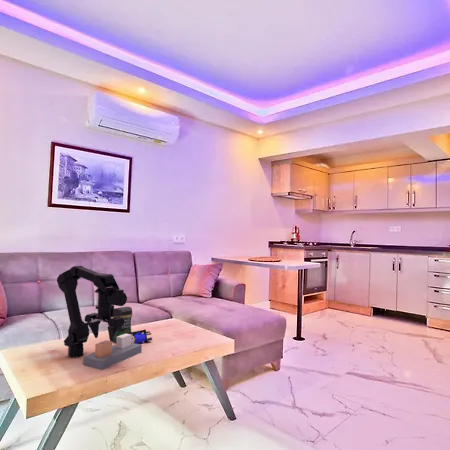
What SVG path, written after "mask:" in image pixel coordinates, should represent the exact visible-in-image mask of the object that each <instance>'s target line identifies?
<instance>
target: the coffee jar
mask: <svg viewBox="0 0 450 450" xmlns="http://www.w3.org/2000/svg"><path fill="white" fill-rule="evenodd" d="M114 309H118V310H122V313H121V316H120V317H121V318H124V319H125V321H124V325H122V326H120V327H119V328H118V329H117V331H116V334H115V336H114V339H113V341H112V344H113V343H114V345H116V337H117V336H120V335H123V334H125V333H130V332H132V317H133V308H132V306H131V307H130V306H119V307H116V308H115V307H114ZM115 317H118V316H115ZM115 317H113V318H115Z"/></svg>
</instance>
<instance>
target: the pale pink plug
mask: <svg viewBox="0 0 450 450" xmlns="http://www.w3.org/2000/svg"><path fill="white" fill-rule="evenodd" d="M115 345H116V348H117V349H121V350H122V349H125V348H127V347H130V346H131V334H123V335H120V336H117V337H116V344H115Z"/></svg>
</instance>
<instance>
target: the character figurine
mask: <svg viewBox="0 0 450 450" xmlns="http://www.w3.org/2000/svg"><path fill="white" fill-rule="evenodd" d="M125 334H131V343H135V344H140V345H143V344H144V343H148V342H150V341H153V337H148V336H151V335H152V332H151V331H150V330H148V331H147V329H145V328H144V329H142V330H136V331H131V332H130V333H125Z"/></svg>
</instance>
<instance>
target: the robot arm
mask: <svg viewBox="0 0 450 450" xmlns="http://www.w3.org/2000/svg"><path fill="white" fill-rule="evenodd" d="M79 279H84V280H87V281H89V282H92V284H93V286H95V287H96V288H97V289H96V290H94V293H96V294H97V305H96V306H95V310H97V312H91V313H87V314H86V315H85V316H84V321H83V318H82V314H81V309H80V304H79V300H78V295H77V291H76V290H77V287H78V286H79V285H78V284H79V283H78V282H79ZM56 282H57V285H58V288H59V290H61V292H62V293H63V294H64V300H65V303H66V309H67V313H68V318H69V322H70V323H69V324H70V325H69V327H68V330H67V332H68V335H67V336H66V337H65V338H64V340H63V345H64V346H66V347H68V348H67V356H65V358H66V357H69V358H81V357H84V343H87V342H88V339H89V336H90V330H91V333H92V334H93V336H94V338H95V339H98V338H99V329H100V328H99V327H100V324H101V322H103V323H107V325H108V326H107V332H108V338H109V341H113V339H114V336H115V334H116V331H117V329H118V328H119V327H120V326H122V325H124V321H125V319H124V318H121V317H120V316H121V313H122V310H118V309H115V306H117V307H124V306H125V305H126V303H127V301H128V296H127V294H126V293H125V292H124V289H120V287H119V284H118V283H117V281H116V279H115V277H114V275H113V274H110V273H101V272H100V273H99V272H97V271H95V270H91V269H90V268H87V267H84V266H82V265H75V266H72V267H70V268H69V269H67V270H66V271H63V272H62V273H60V274H59V275H58V276H57V278H56ZM115 316H118V317H115ZM114 317H115V318H114Z"/></svg>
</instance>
